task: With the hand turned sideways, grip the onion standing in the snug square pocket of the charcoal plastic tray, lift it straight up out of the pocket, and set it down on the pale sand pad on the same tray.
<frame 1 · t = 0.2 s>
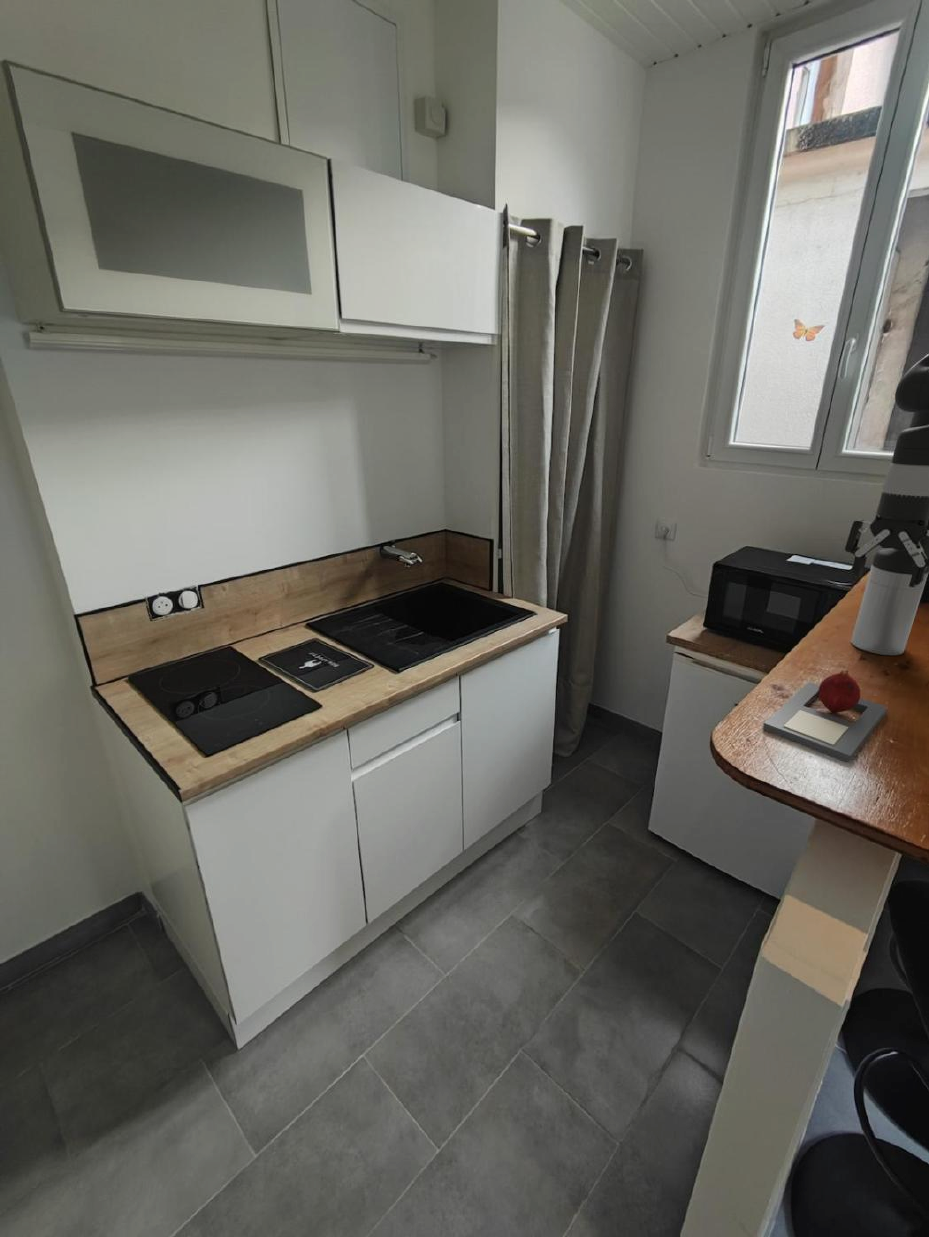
hand: (884, 581, 104), 18 cm above the countertop, tool pointing down, fingers open, 8 cm apart
onion: (833, 713, 95), resting in tray
tray: (825, 721, 93), on the countertop
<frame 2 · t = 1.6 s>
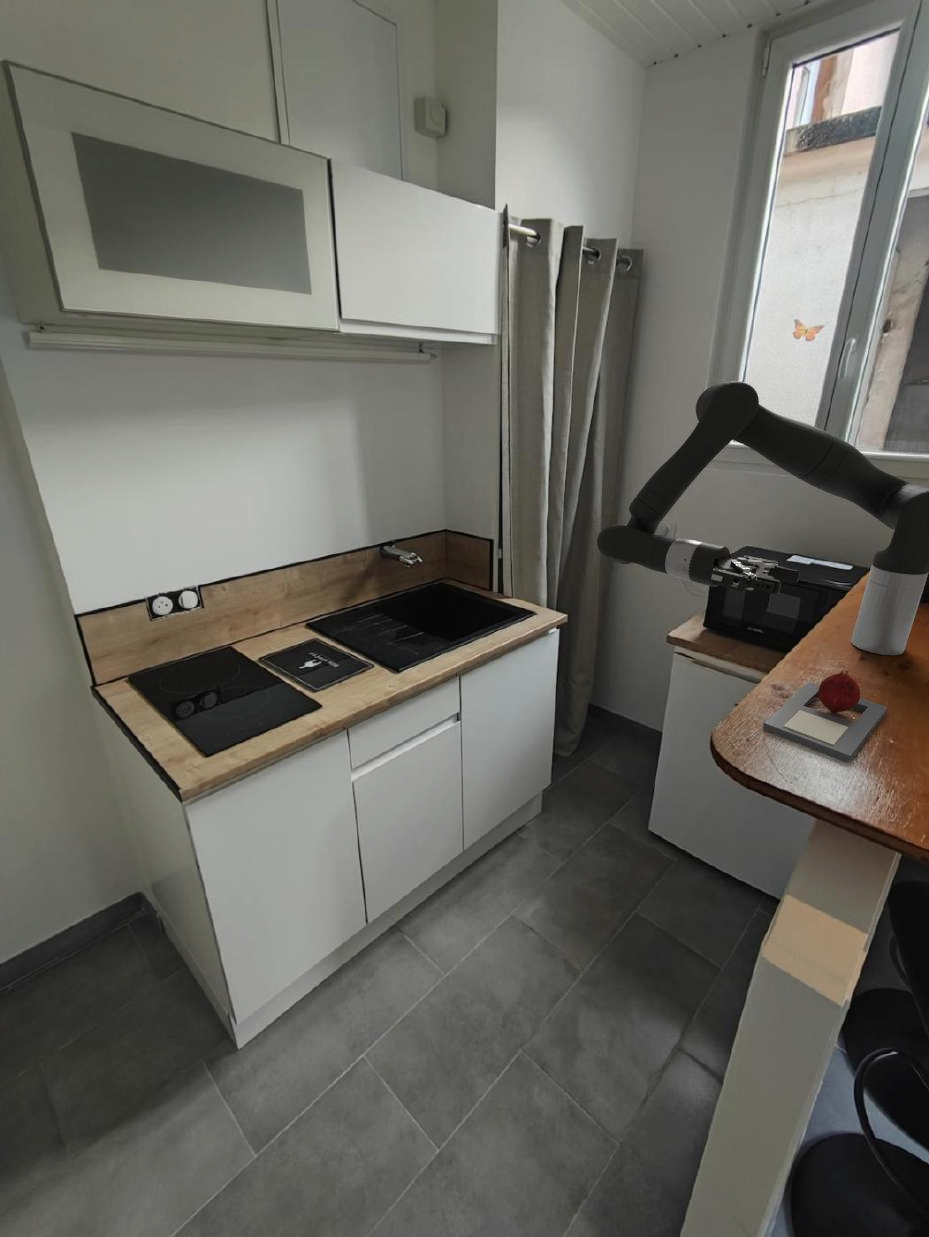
hand: (789, 582, 95), 20 cm above the countertop, tool horizontal, fingers open, 8 cm apart
nothing on the countertop moved.
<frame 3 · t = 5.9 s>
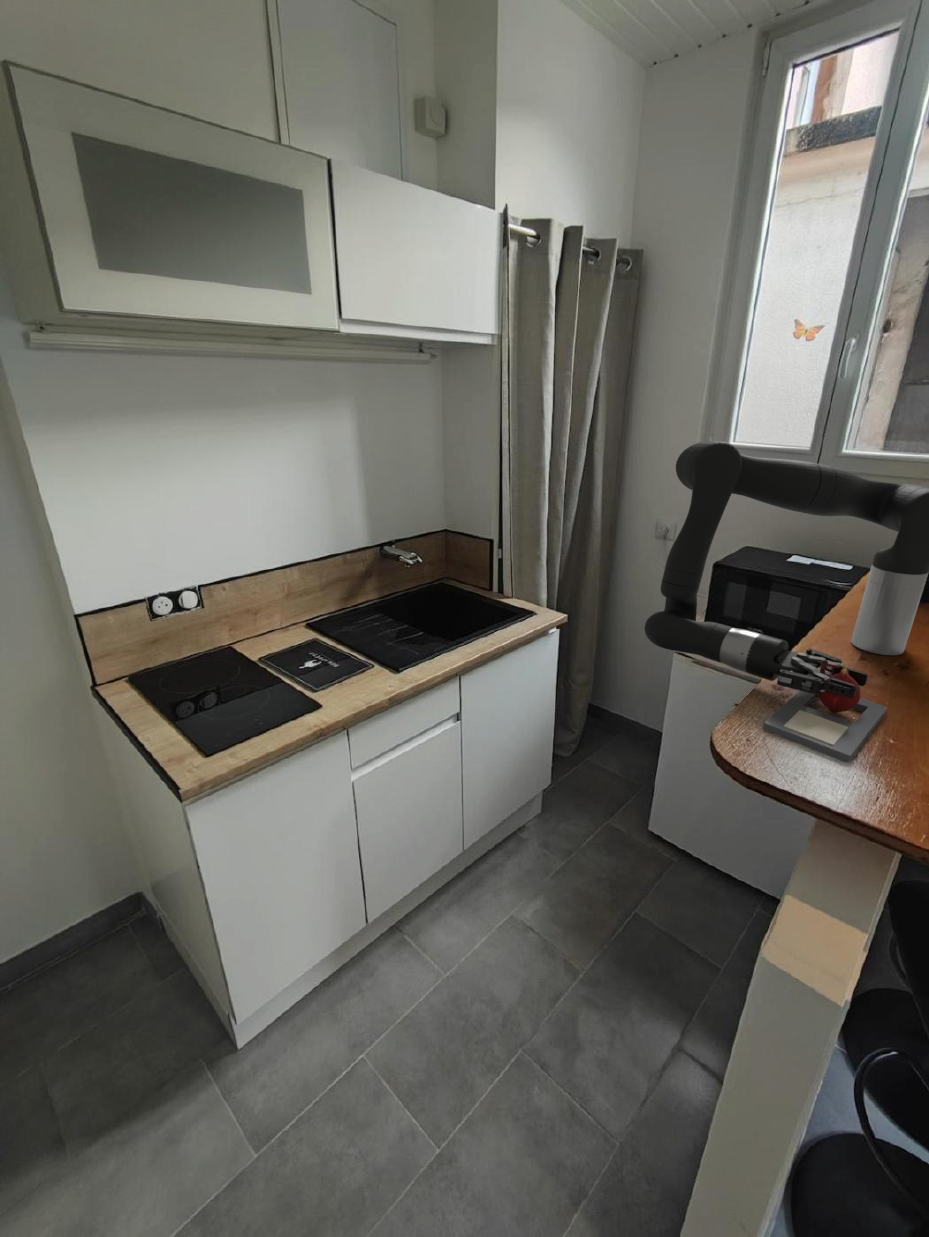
hand: (860, 686, 91), 6 cm above the countertop, tool horizontal, fingers closed on onion, 5 cm apart
onion: (833, 713, 95), resting in tray, touching gripper
when the fingers open (9 cm above the countertop, at t = 11.5 s): onion drops 1 cm, resting on tray.
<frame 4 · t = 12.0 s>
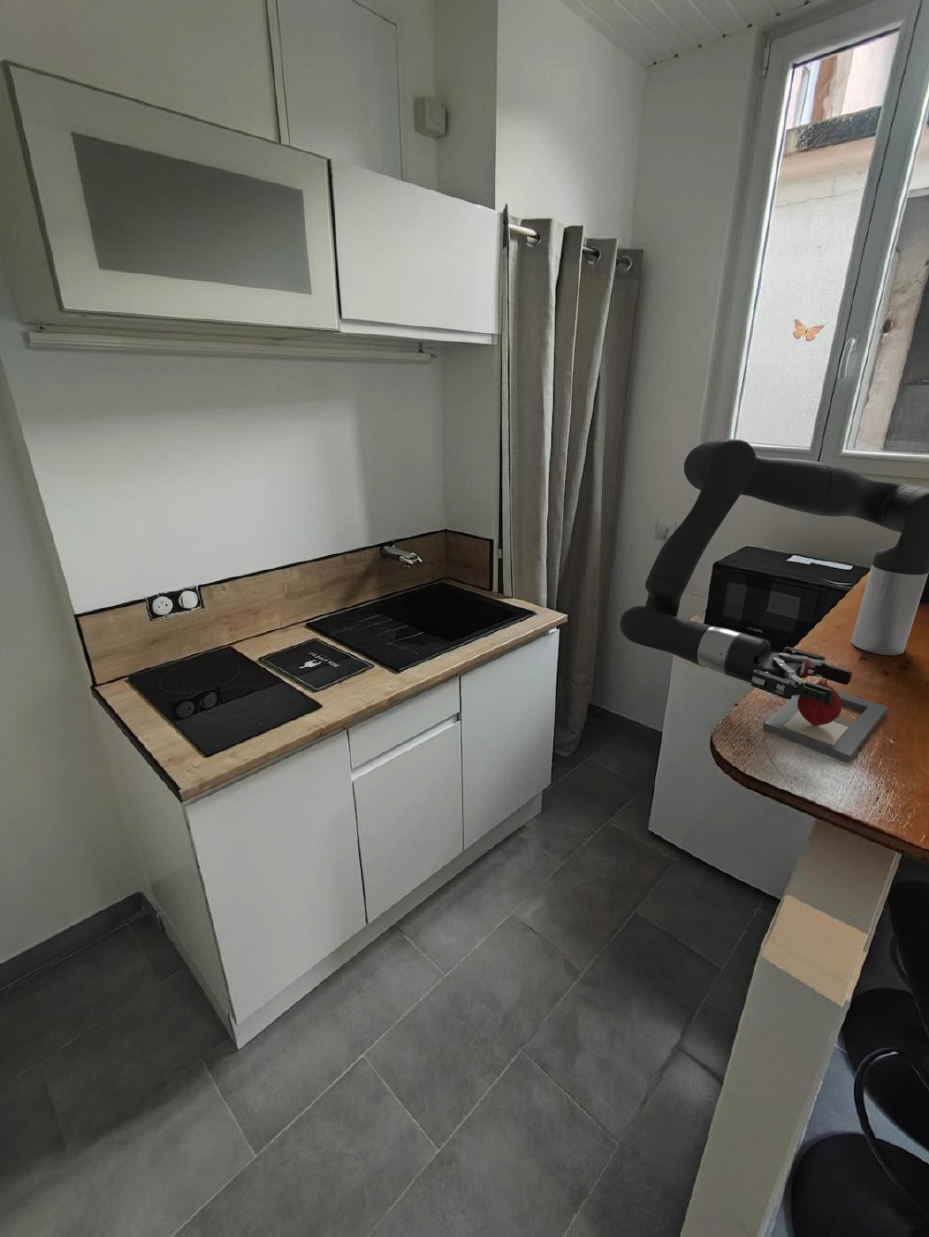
hand: (841, 687, 85), 9 cm above the countertop, tool horizontal, fingers open, 8 cm apart
onion: (814, 726, 89), point 1 cm above the countertop, touching tray
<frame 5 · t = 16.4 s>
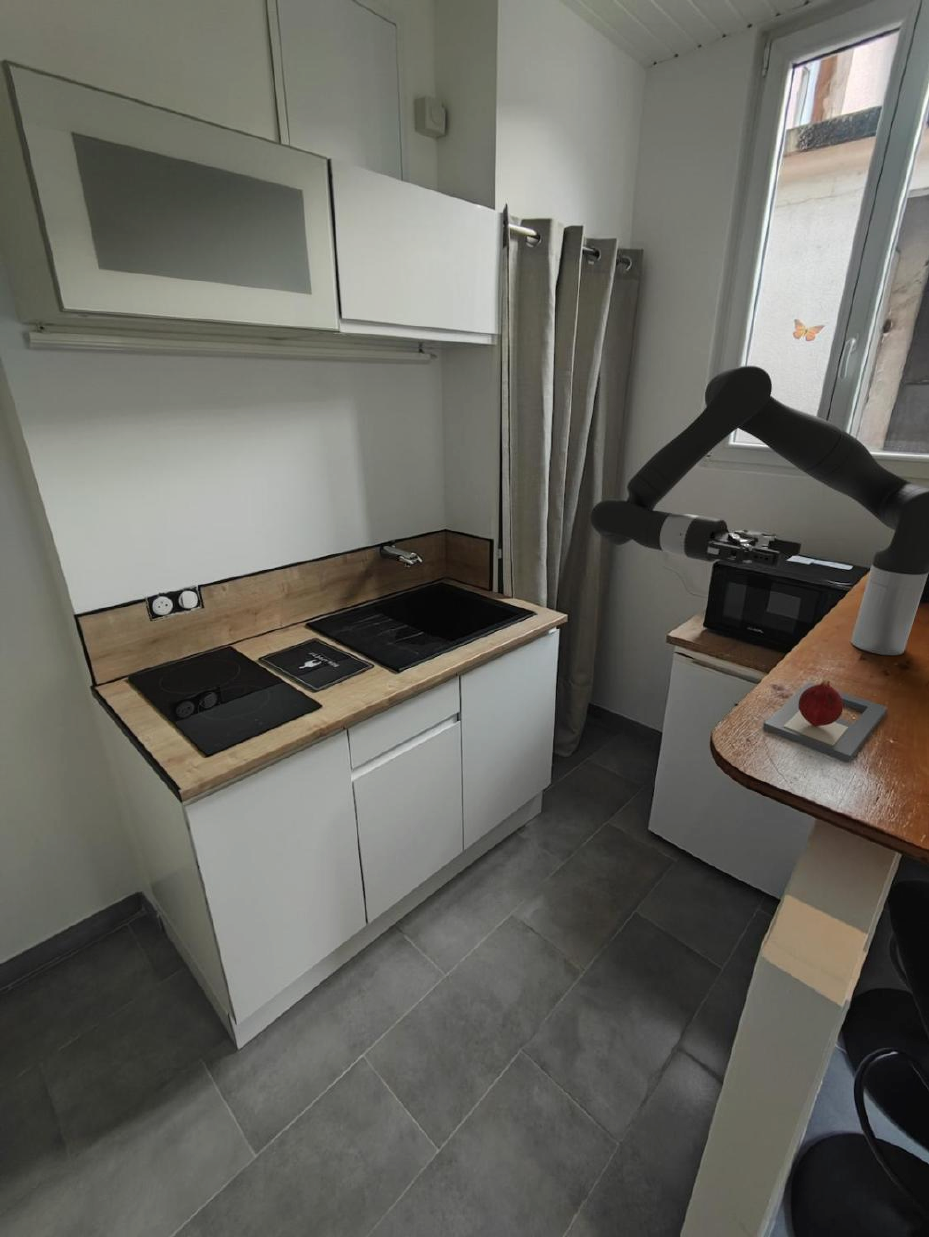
hand: (789, 554, 90), 26 cm above the countertop, tool horizontal, fingers open, 8 cm apart
nothing on the countertop moved.
at the end: onion 0.3 cm from the target spot on the tray, point 1.2 cm above the tray's base; the gripper is holding nothing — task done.
